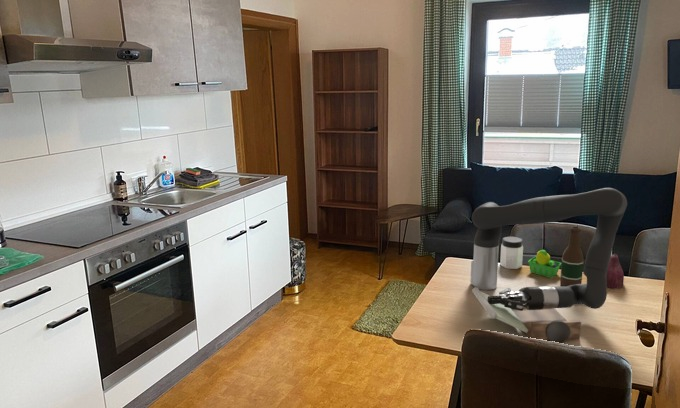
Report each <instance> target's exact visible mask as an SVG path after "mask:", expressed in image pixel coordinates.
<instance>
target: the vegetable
mask: <svg viewBox="0 0 680 408" xmlns="http://www.w3.org/2000/svg"><path fill="white" fill-rule="evenodd" d="M606 279H607V289H612V290H618V289H622V288H623V287H624V280H625V275H624V270H623V268H622V266H621V263H620V260H619V255H618V254H617V253H614V254H611V257H610V262H609V267H608V271H607V275H606Z"/></svg>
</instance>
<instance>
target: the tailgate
mask: <svg viewBox="0 0 680 408" xmlns="http://www.w3.org/2000/svg"><path fill="white" fill-rule="evenodd" d="M471 291H472V294H474V296H475V298H476V299H477V301H478V302H479V303H480V304H481V306H482V308H483V309H484V310H485V312H486V313H487V315H488V316H489V317H490V319H492V320H494V319H496V320H499V321H500V322H503V323H505V324H506V325H509V326H511V327H514V328H515V329H518V330H520V331H522V332H524V333H525V332H526V333H527V332H528V329H527V328H526V327H525V326H524V324H523V323H522V322H521V321H520V319H519V318H518V317H517V316H516V315H515V313H514V312H513V311H512V310H511V308H507V307H504V305H501V304H489V303H488V296H490V294H487V293H485V292H483V291H481V290H480V289H478V288H476V287H473V288H472V290H471ZM526 333H525V334H526Z"/></svg>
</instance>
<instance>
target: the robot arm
mask: <svg viewBox="0 0 680 408" xmlns="http://www.w3.org/2000/svg"><path fill="white" fill-rule="evenodd" d="M627 206H628V200H627V197H626V196H625V194H624V193H622V192H621V191H619V190H618V189H616V188H612V187H603V188H599V189H594V190H591V191H587V192H581V193H575V194H559V195H557V194H556V195H549V196H548V195H546V196H540V197H539V196H538V197H534V198H533V197H532V198H529V199H524V200H520V201H518V202H514V203H512V204H507V205H498V204H497V203H495V202H494V201H488V202H485V203H483V204H481V205H479V206H478V207H476V208H475V209H474V211H473V212H472V214H471V221H472V223H473V225H474V226H475V227H476V228H477V231H476V233H475V236H474V239H473V240H474V241H473V260H472V261H471V262H470V283H469V284H471V285H472V286H473V288H475V287H476V288H478V289H479V290H482V291H483V290H484V291H490V290H495V289H497V286H498V272H499V271H498V266H499V247H500V240H501V237H502V230H503V227H507V226H512V225H514V226H515V225H535V224H545V223H546V224H547V223H548V224H549V223H555V222H559V221H563V220H566V219H569V218H574V217H577V216H578V217H580V216H597V224H596V227H595V228H596V229H595V231H594V234H593V237H592V239H591V241H590V244H589V246H588V249H587V253H586V256H585V259H584V263H583V273H582V274H583V276H585V277H586V283H581V284H575V285H570V286H561V285H560V286H550V285H549V286H546V285H544V286H543V285H542V286H540V285H539V286H526V287H525V288H524V287H523V288H524V290H523V291H522V292H521V291H519V290H515V291H513V290H512V288H510V287H507V288H505V289H504V290H502V291H501V290H500V291H499V292H498V295H489V296H488V303H489V304H501V305H504V307H507V308H511V309H516V310H520V311H523V307H525V308H526V309H527V310H545V309H553V308H555V309H565V308H567V309H568V308H571V307H573V306H575V305H583V306H585V307H588V308H589V309H593V310H594V309H595V310H596V309H597V310H598V309H600V308H601V307H603V306H604V304H605V302H606V301H607V295H608V288H607V279H606V275H607V271H608V267H609V262H610V257H611V256H612V252H613V247H614V243H615V239H616V234H617V233H618V229H619V226H620V223H621V221H622V218H623V217H624V214H625V212H626V209H627Z"/></svg>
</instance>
